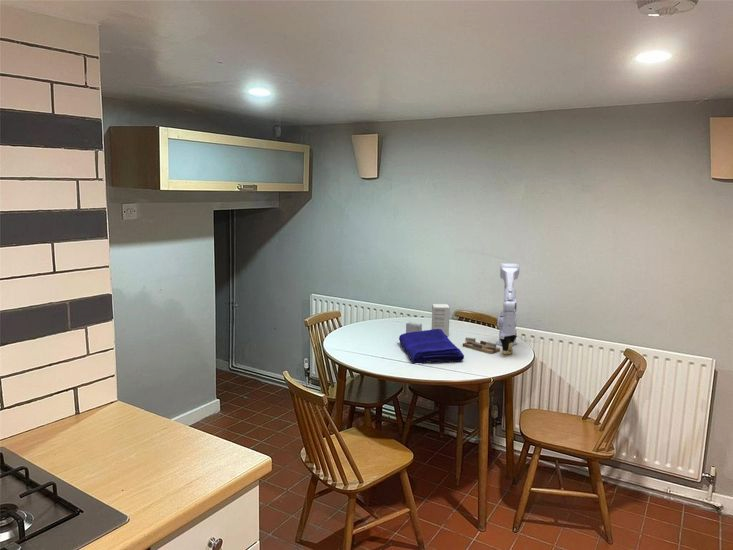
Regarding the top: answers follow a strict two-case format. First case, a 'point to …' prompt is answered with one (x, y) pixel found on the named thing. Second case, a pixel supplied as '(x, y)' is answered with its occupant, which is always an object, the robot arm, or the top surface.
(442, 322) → the supplement box
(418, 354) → the towel
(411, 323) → the medicine box
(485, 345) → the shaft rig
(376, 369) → the top surface
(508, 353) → the wooden block with knob
